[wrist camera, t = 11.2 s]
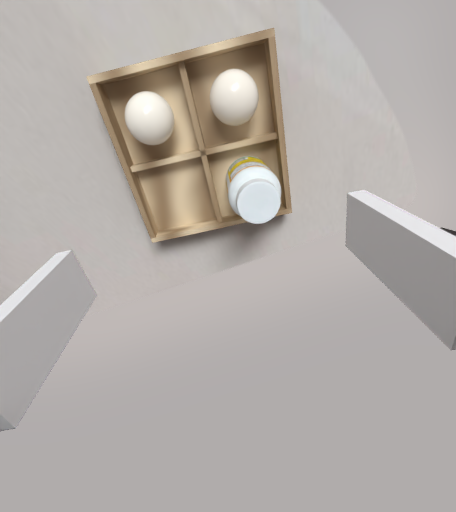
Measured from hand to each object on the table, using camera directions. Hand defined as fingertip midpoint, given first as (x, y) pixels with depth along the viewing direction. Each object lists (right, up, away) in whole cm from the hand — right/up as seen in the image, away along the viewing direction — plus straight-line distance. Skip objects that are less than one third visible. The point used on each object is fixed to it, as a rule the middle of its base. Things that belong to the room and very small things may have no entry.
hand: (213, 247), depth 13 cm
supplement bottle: (+3, +9, +20) cm, 22 cm away
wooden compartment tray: (-2, +12, +18) cm, 22 cm away
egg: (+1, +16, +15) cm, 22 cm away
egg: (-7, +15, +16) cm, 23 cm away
